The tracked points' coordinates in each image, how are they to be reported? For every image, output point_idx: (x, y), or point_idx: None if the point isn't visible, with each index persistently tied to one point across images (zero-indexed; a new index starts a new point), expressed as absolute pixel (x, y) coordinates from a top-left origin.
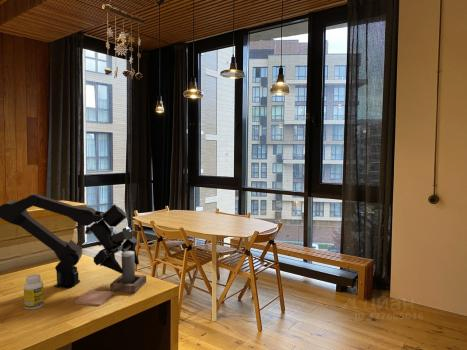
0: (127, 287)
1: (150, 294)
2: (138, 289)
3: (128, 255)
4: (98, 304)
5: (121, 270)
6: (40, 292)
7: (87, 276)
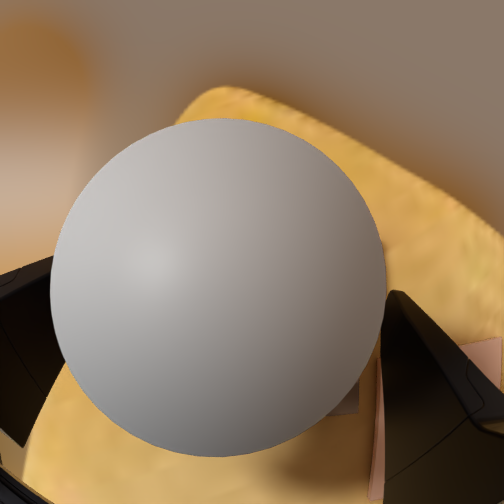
0: None
1: (332, 146)
2: None
3: (349, 191)
4: (499, 343)
5: (412, 303)
6: None
7: None
